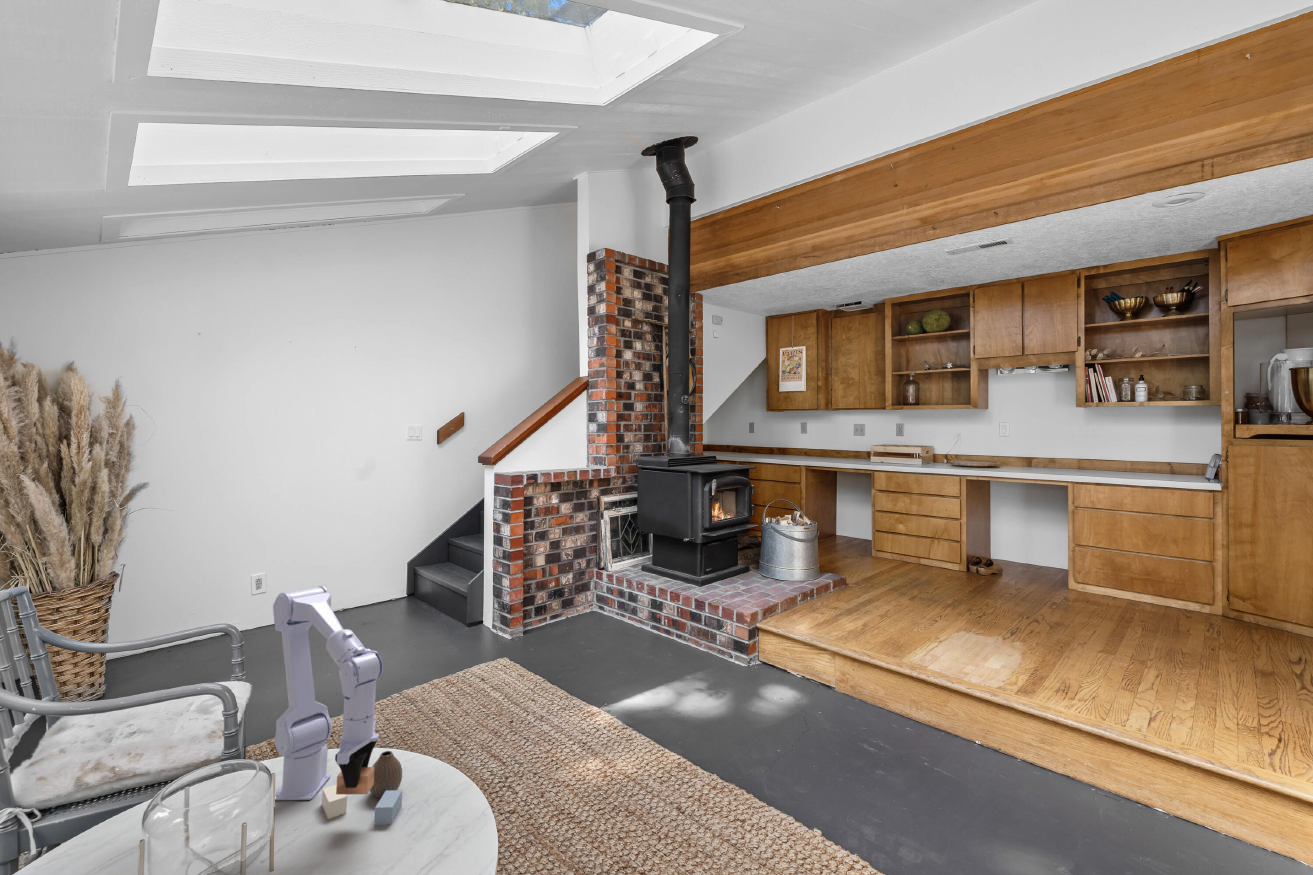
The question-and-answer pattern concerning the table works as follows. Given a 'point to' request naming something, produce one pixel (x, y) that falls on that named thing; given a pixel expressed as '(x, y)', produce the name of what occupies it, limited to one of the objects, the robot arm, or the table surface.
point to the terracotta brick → (363, 785)
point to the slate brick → (388, 807)
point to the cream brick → (333, 802)
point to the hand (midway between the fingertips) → (355, 781)
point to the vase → (386, 774)
